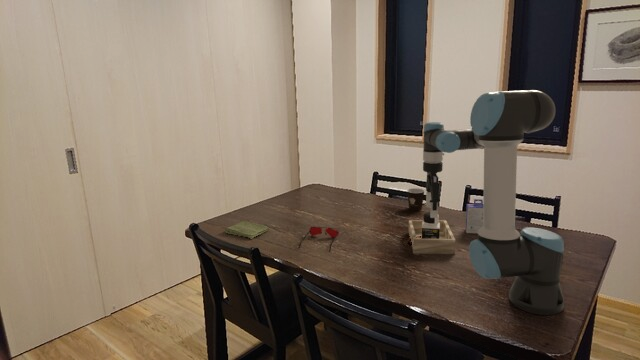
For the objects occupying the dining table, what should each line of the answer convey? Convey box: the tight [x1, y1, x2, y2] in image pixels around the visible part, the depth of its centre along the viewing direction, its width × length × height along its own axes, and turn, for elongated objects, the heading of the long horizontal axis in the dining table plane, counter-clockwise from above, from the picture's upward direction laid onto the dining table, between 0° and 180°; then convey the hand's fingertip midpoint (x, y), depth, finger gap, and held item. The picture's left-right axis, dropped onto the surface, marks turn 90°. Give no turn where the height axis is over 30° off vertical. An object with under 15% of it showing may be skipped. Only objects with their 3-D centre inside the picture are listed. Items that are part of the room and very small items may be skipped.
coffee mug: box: [406, 187, 426, 212], centre depth 217 cm, size 12×9×10 cm
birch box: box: [408, 219, 456, 255], centre depth 177 cm, size 22×16×6 cm
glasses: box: [298, 226, 340, 253], centre depth 181 cm, size 14×16×5 cm
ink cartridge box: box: [464, 198, 483, 234], centre depth 186 cm, size 10×6×14 cm, turn 78°
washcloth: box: [224, 220, 270, 240], centre depth 197 cm, size 13×18×3 cm
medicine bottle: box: [422, 211, 440, 239], centre depth 176 cm, size 7×7×12 cm
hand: (431, 212), depth 174 cm, fingers open, 13 cm apart
